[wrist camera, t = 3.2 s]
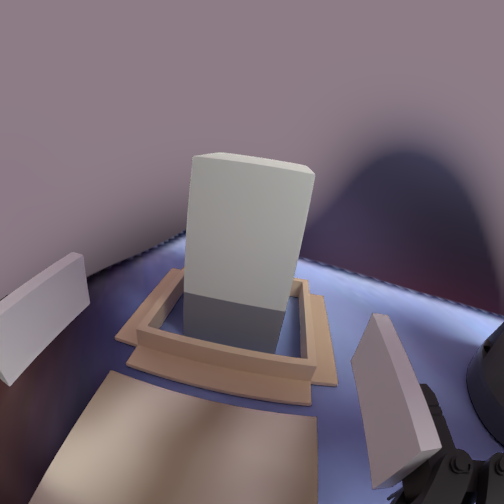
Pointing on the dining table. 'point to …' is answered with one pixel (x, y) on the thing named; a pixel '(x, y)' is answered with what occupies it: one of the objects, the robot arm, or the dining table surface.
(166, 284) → the tan square frame
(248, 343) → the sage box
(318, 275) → the dining table surface
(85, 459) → the birch board
